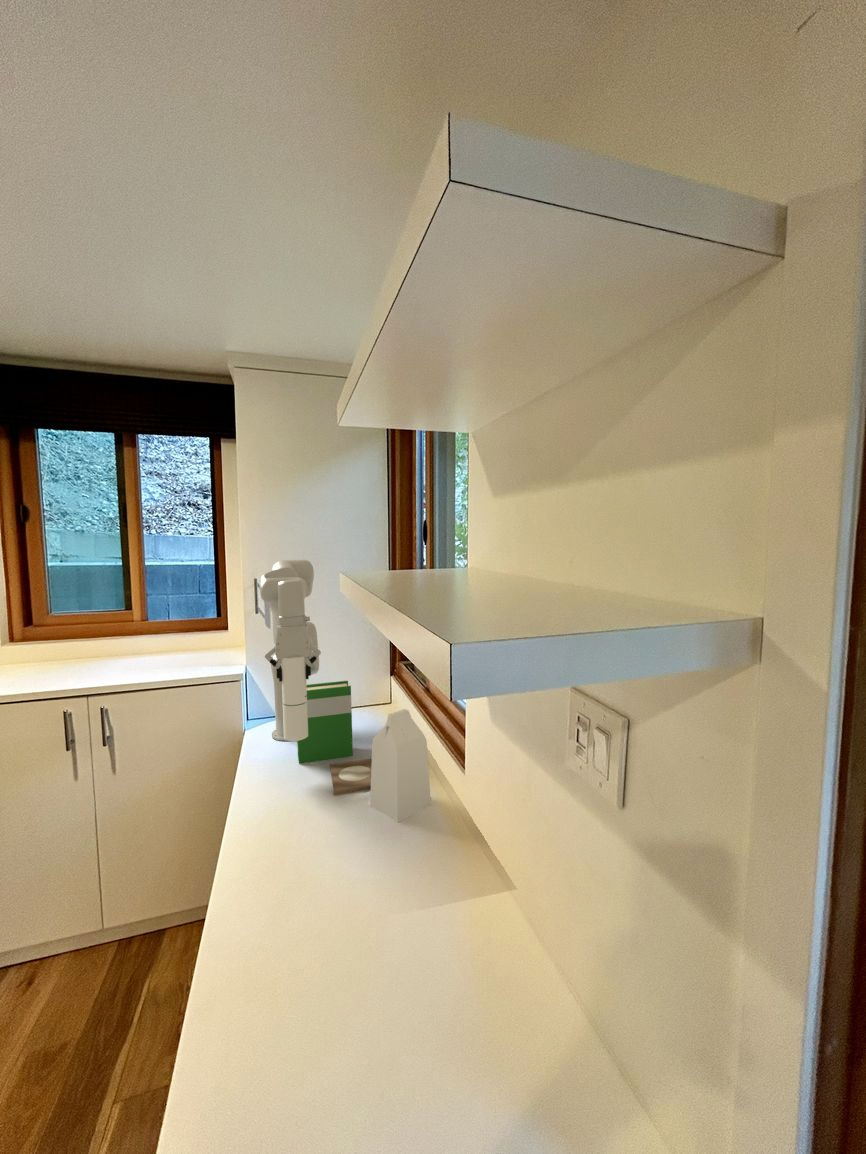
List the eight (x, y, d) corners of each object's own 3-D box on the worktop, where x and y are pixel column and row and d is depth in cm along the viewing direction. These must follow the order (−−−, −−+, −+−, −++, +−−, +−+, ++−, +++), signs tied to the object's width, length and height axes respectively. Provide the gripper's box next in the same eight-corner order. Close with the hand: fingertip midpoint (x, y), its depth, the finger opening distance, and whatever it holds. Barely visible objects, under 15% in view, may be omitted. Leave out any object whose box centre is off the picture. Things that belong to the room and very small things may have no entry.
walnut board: (330, 767, 158) (330, 763, 158) (373, 761, 162) (373, 757, 162) (334, 794, 141) (334, 790, 141) (382, 787, 145) (382, 783, 145)
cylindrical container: (311, 732, 154) (308, 653, 152) (303, 741, 147) (300, 658, 145) (289, 731, 154) (286, 652, 152) (280, 740, 147) (276, 658, 145)
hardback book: (349, 747, 174) (347, 680, 172) (352, 755, 167) (350, 686, 165) (297, 754, 168) (295, 685, 167) (298, 764, 161) (296, 692, 160)
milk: (403, 790, 143) (401, 702, 141) (430, 804, 135) (429, 711, 133) (370, 805, 135) (367, 712, 133) (397, 822, 127) (395, 723, 125)
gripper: (321, 617, 154) (322, 673, 155) (262, 620, 149) (264, 678, 150) (322, 621, 146) (324, 680, 148) (260, 625, 142) (262, 685, 143)
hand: (294, 678), depth 149 cm, fingers closed on cylindrical container, 7 cm apart
